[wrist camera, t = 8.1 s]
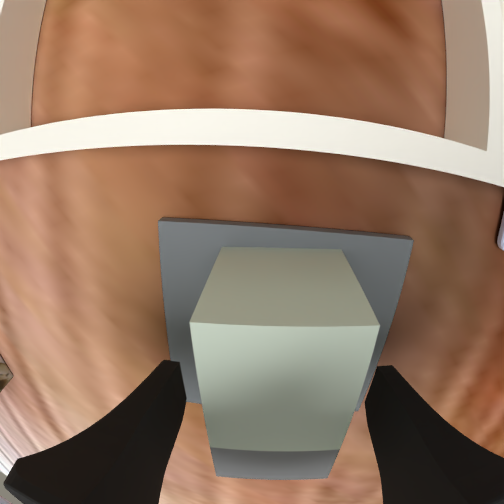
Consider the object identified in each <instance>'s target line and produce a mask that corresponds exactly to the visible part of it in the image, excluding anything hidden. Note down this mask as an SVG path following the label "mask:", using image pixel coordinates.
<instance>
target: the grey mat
mask: <svg viewBox="0 0 504 504" xmlns="http://www.w3.org/2000/svg"><path fill="white" fill-rule="evenodd" d="M158 230H159V248H160V264H161V277H162V289H163V299H164V309H165V319H166V328H167V336H168V344H169V352H170V359H171V361H177V362H180V366H181V372H182V377H183V382H184V387H185V392H186V397H187V400H186V402H192V403H199V404H202V402H201V396H200V390H199V384H198V378H197V372H196V365H195V358H194V352H193V345H192V338H191V330H190V320H191V317H192V315H193V313H194V310H195V308H196V305H197V303H198V301H199V298H200V296H201V294H202V291H203V289H204V287H205V284H206V282H207V280H208V277H209V275H210V273H211V271H212V268H213V266H214V264H215V261H216V259H217V257H218V255H219V252H220V250H221V248H222V247H263V248H307V249H341V250H342V252H343V253H344V255H345V257H346V259H347V261H348V263H349V265H350V267H351V268H352V270H353V272H354V274H355V276H356V278H357V280H358V282H359V284H360V286H361V288H362V290H363V292H364V294H365V296H366V298H367V300H368V302H369V304H370V306H371V308H372V310H373V312H374V314H375V316H376V318H377V320H378V322H379V324H380V327H379V331H378V335H377V339H376V343H375V347H374V350H373V354H372V357H371V361H370V364H369V368H368V371H367V374H366V377H365V381H364V384H363V387H362V390H361V393H360V396H359V399H358V402H357V405H356V408H355V411H358V410H359V408H360V406H361V403H362V401H363V399H364V396H365V394H366V391H367V389H368V387H369V384H370V382H371V379H372V377H373V374H374V372H375V369H376V366H377V364H378V361H379V358H380V356H381V353H382V350H383V347H384V344H385V342H386V339H387V336H388V333H389V330H390V327H391V323H392V320H393V317H394V314H395V311H396V307H397V304H398V301H399V297H400V294H401V290H402V286H403V283H404V279H405V275H406V271H407V267H408V263H409V259H410V255H411V250H412V246H413V241H414V240H413V239H412V238H411V237H409V236H403V235H393V234H383V233H373V232H362V231H351V230H340V229H329V228H317V227H305V226H292V225H279V224H265V223H251V222H235V221H219V220H202V219H184V218H164V217H162V218H161V219H160V220H159V221H158Z"/></svg>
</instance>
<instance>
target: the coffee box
mask: <svg viewBox="0 0 504 504" xmlns="http://www.w3.org/2000/svg"><path fill="white" fill-rule="evenodd" d="M12 378H13V375H12V373H11V371H10V370H9V368H8V367H7V365H6V364H5V362H4V361H3V359H2V357H1V356H0V392H1V391H2V389H3V388H4V387H5V386H6V384H7V383H8V382H9V381H10V380H11V379H12Z"/></svg>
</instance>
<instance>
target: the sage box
mask: <svg viewBox="0 0 504 504" xmlns="http://www.w3.org/2000/svg"><path fill="white" fill-rule="evenodd" d="M379 327H380V324H379V322H378V320H377V318H376V316H375V314H374V312H373V310H372V308H371V306H370V304H369V302H368V300H367V298H366V296H365V294H364V292H363V290H362V288H361V286H360V284H359V282H358V280H357V278H356V276H355V274H354V272H353V270H352V268H351V267H350V265H349V263H348V261H347V259H346V257H345V255H344V253H343V252H342V250H341V249H307V248H263V247H222V248H221V250H220V252H219V255H218V257H217V259H216V261H215V264H214V266H213V268H212V271H211V273H210V275H209V277H208V280H207V282H206V284H205V287H204V289H203V291H202V294H201V296H200V298H199V301H198V303H197V305H196V308H195V310H194V313H193V315H192V317H191V320H190V330H191V338H192V345H193V352H194V358H195V365H196V372H197V378H198V384H199V390H200V396H201V402H202V407H203V413H204V418H205V424H206V429H207V434H208V439H209V444H210V449H211V454H212V458H213V463H214V467H215V472H216V476H221V477H231V478H245V479H267V480H301V479H323V478H328V475H329V473H330V471H331V469H332V466H333V464H334V462H335V459H336V457H337V455H338V452H339V450H340V447H341V445H342V443H343V440H344V437H345V435H346V432H347V430H348V427H349V424H350V422H351V419H352V416H353V413H354V411H355V408H356V405H357V402H358V399H359V396H360V393H361V390H362V387H363V384H364V381H365V377H366V374H367V371H368V368H369V364H370V361H371V357H372V354H373V350H374V347H375V343H376V339H377V335H378V331H379Z"/></svg>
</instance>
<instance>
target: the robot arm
mask: <svg viewBox="0 0 504 504" xmlns="http://www.w3.org/2000/svg"><path fill="white" fill-rule="evenodd" d="M497 243H498V246H499V248H501V249H502V250H504V213H503V217H502V222H501V226H500V231H499V235H498V240H497ZM186 400H187V397H186V392H185V387H184V382H183V377H182V372H181V366H180V362H177V361H169V360H163V361H162V362H161V363H160V364H159V365H158V366H157V367H156V368H155V369H154V371H153V372H152V373H151V374H150V375H149V376H148V377H147V378H146V379H145V380H144V381H143V382H142V383H141V384H140V385H139V386H138V387H137V388H136V389H135V390H134V391H133V392H132V393H131V394H130V395H129V396H128V397H127V398H126V399H124V400H123V401H122V402H121V403H120V404H119V405H118V406H116V407H115V408H114V409H113V410H112V411H111V412H109V413H108V414H107V415H106V416H104V417H103V418H102V419H100V420H99V421H97V422H96V423H95V424H93V425H92V426H90V427H89V428H87V429H86V430H84V431H82V432H81V433H79V434H77V435H76V436H74V437H72V438H70V439H68V440H67V441H64V442H62V443H60V444H58V445H56V446H54V447H51V448H49V449H47V450H44V451H41V452H39V453H35V454H32V455H29V456H26V457H23V458H19V459H17V461H16V462H15V464H14V466H13V467H12V469H11V471H10V472H9V474H8V476H7V478H6V480H5V481H4V486H5V488H6V489H7V490H8V491H9V492H10V493H11V494H12V495H14V496H15V497H16V498H17V499H18V500H19V501H21V502H22V503H23V504H158V503H159V498H160V492H161V487H162V482H163V478H164V474H165V470H166V467H167V464H168V461H169V458H170V455H171V452H172V449H173V447H174V444H175V441H176V438H177V435H178V432H179V429H180V426H181V423H182V420H183V415H184V410H185V405H186ZM365 409H366V417H367V424H368V428H369V432H370V436H371V440H372V444H373V448H374V452H375V455H376V459H377V463H378V467H379V472H380V477H381V484H382V494H383V504H504V458H503V457H500V456H498V455H496V454H494V453H492V452H490V451H488V450H487V449H485V448H483V447H481V446H480V445H478V444H477V443H475V442H473V441H472V440H470V439H469V438H467V437H466V436H464V435H463V434H462V433H460V432H459V431H458V430H457V429H455V428H454V427H453V426H451V425H450V424H449V423H448V422H447V421H445V420H444V419H443V418H442V417H441V416H440V415H439V414H438V413H437V412H436V411H435V410H434V409H433V408H431V407H430V406H429V405H428V404H427V403H426V402H425V400H424V399H423V398H422V397H421V396H420V395H419V394H418V393H417V392H416V391H415V390H414V389H413V388H412V387H411V385H410V384H409V383H408V382H407V381H406V380H405V379H404V378H403V377H402V376H401V374H400V373H399V372H398V371H397V370H396V369H395V368H394V367H393V366H392V365H389V366H377V369H376V372H375V375H374V378H373V381H372V384H371V386H370V389H369V392H368V395H367V398H366V400H365ZM0 504H12V503H11V502H9V501H8V500H6V499H5V498H3V497H2V496H0Z"/></svg>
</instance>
